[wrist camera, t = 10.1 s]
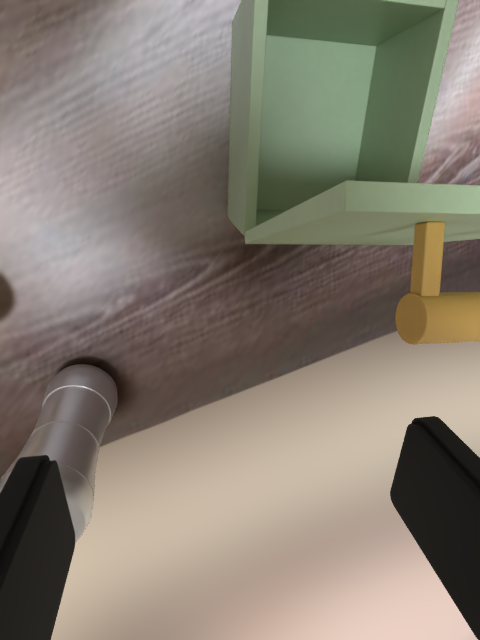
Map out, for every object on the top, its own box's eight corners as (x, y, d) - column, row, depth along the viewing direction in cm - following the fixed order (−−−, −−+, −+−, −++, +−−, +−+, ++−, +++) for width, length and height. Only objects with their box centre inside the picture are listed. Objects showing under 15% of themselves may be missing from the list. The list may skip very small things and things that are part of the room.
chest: (232, 21, 27) (255, -36, 19) (382, 37, 29) (461, -8, 21) (227, 217, 32) (243, 236, 24) (352, 219, 34) (405, 238, 26)
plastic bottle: (96, 345, 35) (14, 539, 17) (133, 393, 38) (97, 602, 20) (39, 373, 36) (-100, 594, 18) (80, 419, 39) (-2, 648, 21)
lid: (345, 179, 9) (338, 363, 10) (701, 193, 11) (673, 346, 12) (244, 231, 24) (244, 306, 25) (409, 233, 26) (404, 302, 27)
